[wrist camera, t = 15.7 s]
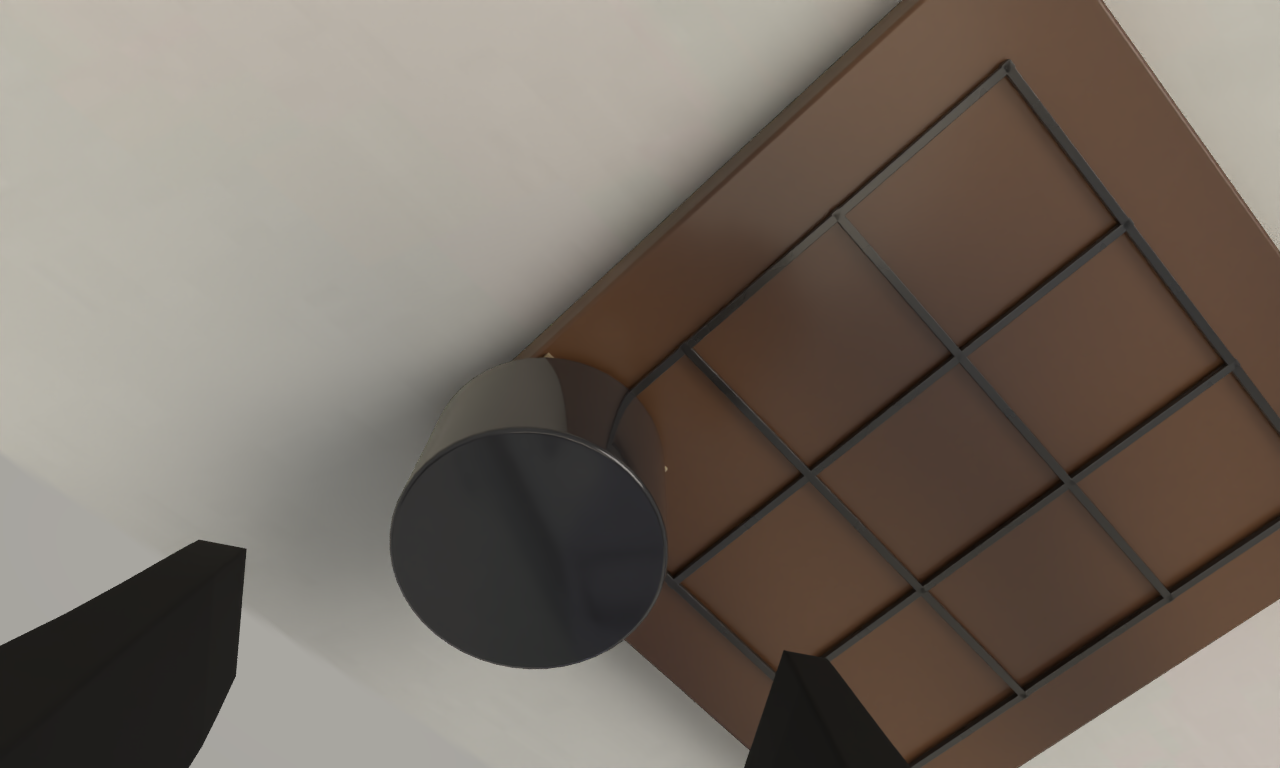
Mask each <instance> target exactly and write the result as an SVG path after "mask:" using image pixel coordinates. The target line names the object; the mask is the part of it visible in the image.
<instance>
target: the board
mask: <svg viewBox="0 0 1280 768" xmlns="http://www.w3.org/2000/svg"><path fill="white" fill-rule="evenodd" d="M541 357H549V358H559V359H566V360H571V361H575V362H580V363H582V364H585V365H588V366H591V367H594V368H596V369H598V370H600V371H602V372H604V373H606V374H608V375H609V376H611V377H612V378H614V379H615V380H617V381H618V382H620V383H621V384H623V385H624V386H625V387H626V388H627V389H628V390H629V391H631V392H632V393H633V394H634V395H635V396H636V397H637V399H638V400H639V401H640V402H641V403H642V404H643V406H644V407H645V409H646V410H647V412H648V413H649V415H650V416H651V418H652V420H653V422H654V424H655V426H656V428H657V430H658V433H659V436H660V439H661V442H662V446H663V452H664V458H665V481H666V503H667V526H668V555H669V559H668V566H667V574H666V577H665V581H664V584H663V588H662V590H661V592H660V595H659V597H658V599H657V601H656V603H655V605H654V606H653V608H652V609H651V611H650V613H649V614H648V616H647V617H646V618H645V619H644V620H643V622H642V623H641V624H640V625H639V626H638V627H637V628H636V630H634V631H633V632H632V633H631V634H630V635H629V636H628V637H627V638H625V639H624V640H625V641H627V642H628V643H629V644H630V645H631V646H632V647H633V648H634V649H636V650H637V651H638V652H639V653H640V654H641V655H642V656H643V657H645V658H646V659H647V660H648V661H649V662H650V663H651V664H653V665H654V666H655V667H656V668H657V669H658V670H659V671H660V672H662V673H663V674H664V675H665V676H666V677H667V678H668V679H670V680H671V681H672V682H673V683H674V684H675V685H676V686H677V687H679V688H680V689H681V690H682V691H683V692H684V693H685V694H686V695H688V696H689V697H690V698H691V699H692V700H693V701H694V702H696V703H697V704H698V705H699V706H700V707H701V708H702V709H703V710H705V711H706V712H707V713H708V714H709V715H710V716H711V717H712V718H714V719H715V720H716V721H717V722H718V723H719V724H720V725H722V726H723V727H724V728H725V729H726V730H727V731H728V732H729V733H731V734H732V735H733V736H734V737H735V738H736V739H737V740H739V741H740V742H741V743H742V744H743V745H744V746H745V747H746V748H748V749H749V750H750V749H751V746H752V743H753V740H754V737H755V734H756V731H757V728H758V725H759V722H760V719H761V716H762V713H763V710H764V707H765V704H766V701H767V698H768V695H769V692H770V689H771V686H772V683H773V680H774V677H775V674H776V671H777V668H778V665H779V662H780V659H781V657H782V654H783V651H784V650H786V651H791V652H796V653H801V654H807V655H812V656H817V657H823V658H827V659H828V660H829V661H830V662H831V664H832V665H833V666H834V667H835V669H836V670H837V671H838V673H839V674H840V675H841V676H842V678H843V679H844V680H845V682H846V683H847V684H848V686H849V687H850V688H851V690H852V691H853V692H854V694H855V695H856V696H857V698H858V699H859V700H860V702H861V703H862V704H863V706H864V707H865V708H866V710H867V711H868V712H869V714H870V715H871V716H872V718H873V719H874V720H875V722H876V723H877V724H878V726H879V727H880V728H881V730H882V731H883V732H884V734H885V735H886V736H887V737H888V739H889V740H890V741H891V743H892V744H893V745H894V746H895V748H896V749H897V750H898V752H899V753H900V754H901V755H902V757H903V758H904V759H905V760H906V762H907V763H908V764H909V765H910V767H911V768H1018V767H1020V766H1022V765H1023V764H1025V763H1026V762H1028V761H1029V760H1031V759H1032V758H1034V757H1035V756H1037V755H1039V754H1040V753H1042V752H1043V751H1045V750H1046V749H1048V748H1049V747H1051V746H1052V745H1054V744H1056V743H1057V742H1059V741H1060V740H1062V739H1063V738H1065V737H1066V736H1068V735H1070V734H1071V733H1073V732H1074V731H1076V730H1077V729H1079V728H1080V727H1082V726H1083V725H1085V724H1087V723H1088V722H1090V721H1091V720H1093V719H1094V718H1096V717H1097V716H1099V715H1101V714H1102V713H1104V712H1105V711H1107V710H1108V709H1110V708H1111V707H1113V706H1114V705H1116V704H1118V703H1119V702H1121V701H1122V700H1124V699H1125V698H1127V697H1128V696H1130V695H1132V694H1133V693H1135V692H1136V691H1138V690H1139V689H1141V688H1142V687H1144V686H1145V685H1147V684H1149V683H1150V682H1152V681H1153V680H1155V679H1156V678H1158V677H1159V676H1161V675H1162V674H1164V673H1166V672H1167V671H1169V670H1170V669H1172V668H1173V667H1175V666H1176V665H1178V664H1180V663H1181V662H1183V661H1184V660H1186V659H1187V658H1189V657H1190V656H1192V655H1193V654H1195V653H1197V652H1198V651H1200V650H1201V649H1203V648H1204V647H1206V646H1207V645H1209V644H1211V643H1212V642H1214V641H1215V640H1217V639H1218V638H1220V637H1221V636H1223V635H1224V634H1226V633H1228V632H1229V631H1231V630H1232V629H1234V628H1235V627H1237V626H1238V625H1240V624H1242V623H1243V622H1245V621H1246V620H1248V619H1249V618H1251V617H1252V616H1254V615H1255V614H1257V613H1259V612H1260V611H1262V610H1263V609H1265V608H1266V607H1268V606H1269V605H1271V604H1273V603H1274V602H1276V601H1277V600H1279V599H1280V251H1279V250H1278V248H1277V247H1276V245H1275V244H1274V243H1273V241H1272V240H1271V238H1270V237H1269V236H1268V234H1267V233H1266V231H1265V230H1264V228H1263V227H1262V226H1261V224H1260V223H1259V221H1258V220H1257V219H1256V217H1255V216H1254V214H1253V213H1252V211H1251V210H1250V209H1249V207H1248V206H1247V204H1246V203H1245V202H1244V200H1243V199H1242V197H1241V196H1240V194H1239V193H1238V192H1237V190H1236V189H1235V187H1234V186H1233V185H1232V183H1231V182H1230V180H1229V179H1228V177H1227V176H1226V175H1225V173H1224V172H1223V170H1222V169H1221V168H1220V166H1219V165H1218V163H1217V162H1216V160H1215V159H1214V158H1213V156H1212V155H1211V153H1210V152H1209V151H1208V149H1207V148H1206V146H1205V145H1204V143H1203V142H1202V141H1201V139H1200V138H1199V136H1198V135H1197V134H1196V132H1195V131H1194V129H1193V128H1192V126H1191V125H1190V124H1189V122H1188V121H1187V119H1186V118H1185V117H1184V115H1183V114H1182V112H1181V111H1180V109H1179V108H1178V107H1177V105H1176V104H1175V102H1174V101H1173V99H1172V98H1171V97H1170V95H1169V94H1168V92H1167V91H1166V90H1165V88H1164V87H1163V85H1162V84H1161V82H1160V81H1159V80H1158V78H1157V77H1156V75H1155V74H1154V73H1153V71H1152V70H1151V68H1150V67H1149V65H1148V64H1147V63H1146V61H1145V60H1144V58H1143V57H1142V56H1141V54H1140V53H1139V51H1138V50H1137V48H1136V47H1135V46H1134V44H1133V43H1132V41H1131V40H1130V39H1129V37H1128V36H1127V34H1126V33H1125V31H1124V30H1123V29H1122V27H1121V26H1120V24H1119V23H1118V22H1117V20H1116V19H1115V17H1114V16H1113V14H1112V13H1111V12H1110V10H1109V9H1108V7H1107V6H1106V5H1105V3H1104V2H1103V0H902V1H901V2H900V3H899V4H898V5H897V6H896V7H895V8H894V9H893V10H891V11H890V12H889V13H888V14H887V15H886V16H885V17H884V18H883V19H882V20H881V21H880V22H878V23H877V24H876V25H875V26H874V27H873V28H872V29H871V30H870V31H869V32H868V33H867V34H865V35H864V36H863V37H862V38H861V39H860V40H859V41H858V42H857V43H856V44H855V45H854V46H852V47H851V48H850V49H849V50H848V51H847V52H846V53H845V54H844V55H843V56H842V57H841V58H839V59H838V60H837V61H836V62H835V63H834V64H833V65H832V66H831V67H830V68H829V69H828V70H826V71H825V72H824V73H823V74H822V75H821V76H820V77H819V78H818V79H817V80H816V81H815V82H813V83H812V84H811V85H810V86H809V87H808V88H807V89H806V90H805V91H804V92H803V93H802V94H800V95H799V96H798V97H797V98H796V99H795V100H794V101H793V102H792V103H791V104H790V105H789V106H787V107H786V108H785V109H784V110H783V111H782V112H781V113H780V114H779V115H778V116H777V117H776V118H774V119H773V120H772V121H771V122H770V123H769V124H768V125H767V126H766V127H765V128H764V129H763V130H761V131H760V132H759V133H758V134H757V135H756V136H755V137H754V138H753V139H752V140H751V141H750V142H748V143H747V144H746V145H745V146H744V147H743V148H742V149H741V150H740V151H739V152H738V153H737V154H735V155H734V156H733V157H732V158H731V159H730V160H729V161H728V162H727V163H726V164H725V165H724V166H722V167H721V168H720V169H719V170H718V171H717V172H716V173H715V174H714V175H713V176H712V177H711V178H709V179H708V180H707V181H706V182H705V183H704V184H703V185H702V186H701V187H700V188H699V189H698V190H696V191H695V192H694V193H693V194H692V195H691V196H690V197H689V198H688V199H687V200H686V201H685V202H683V203H682V204H681V205H680V206H679V207H678V208H677V209H676V210H675V211H674V212H673V213H672V214H670V215H669V216H668V217H667V218H666V219H665V220H664V221H663V222H662V223H661V224H660V225H659V226H657V227H656V228H655V229H654V230H653V231H652V232H651V233H650V234H649V235H648V236H647V237H646V238H644V239H643V240H642V241H641V242H640V243H639V244H638V245H637V246H636V247H635V248H634V249H633V250H632V251H630V252H629V253H628V254H627V255H626V256H625V257H624V258H623V259H622V260H621V261H620V262H619V263H617V264H616V265H615V266H614V267H613V268H612V269H611V270H610V271H609V272H608V273H607V274H606V275H604V276H603V277H602V278H601V279H600V280H599V281H598V282H597V283H596V284H595V285H594V286H593V287H591V288H590V289H589V290H588V291H587V292H586V293H585V294H584V295H583V296H582V297H581V298H580V299H578V300H577V301H576V302H575V303H574V304H573V305H572V306H571V307H570V308H569V309H568V310H567V311H565V312H564V313H563V314H562V315H561V316H560V317H559V318H558V319H557V320H556V321H555V322H554V323H552V324H551V325H550V326H549V327H548V328H547V329H546V330H545V331H544V332H543V333H542V334H541V335H539V336H538V337H537V338H536V339H535V340H534V341H533V342H532V343H531V344H530V345H529V346H528V347H526V348H525V349H524V350H523V351H522V352H521V353H520V354H519V355H518V356H517V357H516V358H515V359H513V360H512V361H515V360H520V359H527V358H541Z"/></svg>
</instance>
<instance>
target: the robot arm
mask: <svg viewBox="0 0 1280 768" xmlns="http://www.w3.org/2000/svg"><path fill="white" fill-rule="evenodd" d="M245 560H246V549H245V548H240V547H235V546H229V545H224V544H219V543H214V542H208V541H203V540H198V541H196V542H194V543H192V544H190V545H188V546H186V547H184V548H183V549H181V550H179V551H177V552H175V553H174V554H172V555H170V556H168V557H166V558H165V559H163V560H161V561H159V562H158V563H156V564H154V565H152V566H151V567H149V568H147V569H146V570H144V571H142V572H140V573H138V574H137V575H135V576H133V577H132V578H130V579H128V580H126V581H124V582H123V583H121V584H119V585H117V586H115V587H113V588H112V589H110V590H108V591H106V592H104V593H102V594H101V595H99V596H97V597H95V598H93V599H92V600H90V601H88V602H86V603H84V604H82V605H81V606H79V607H77V608H75V609H73V610H72V611H69V612H68V613H66V614H64V615H62V616H60V617H58V618H56V619H54V620H52V621H50V622H48V623H46V624H44V625H41V626H39V627H37V628H36V629H34V630H31V631H29V632H27V633H25V634H23V635H21V636H19V637H17V638H15V639H13V640H11V641H9V642H7V643H5V644H3V645H1V646H0V768H189V766H190V765H191V763H192V762H193V760H194V758H195V757H196V755H197V754H198V752H199V750H200V748H201V747H202V745H203V743H204V741H205V739H206V737H207V735H208V733H209V731H210V729H211V727H212V725H213V723H214V721H215V719H216V717H217V715H218V713H219V711H220V709H221V707H222V704H223V702H224V700H225V698H226V696H227V694H228V692H229V689H230V687H231V685H232V683H233V681H234V679H235V677H236V668H237V656H238V644H239V632H240V619H241V608H242V596H243V584H244V572H245ZM744 768H911V767H910V765H909V764H908V763H907V762H906V760H905V759H904V758H903V757H902V755H901V754H900V753H899V752H898V750H897V749H896V748H895V746H894V745H893V744H892V743H891V741H890V740H889V739H888V737H887V736H886V735H885V734H884V732H883V731H882V730H881V728H880V727H879V726H878V724H877V723H876V722H875V720H874V719H873V718H872V716H871V715H870V714H869V712H868V711H867V710H866V708H865V707H864V706H863V704H862V703H861V702H860V700H859V699H858V698H857V696H856V695H855V694H854V692H853V691H852V690H851V688H850V687H849V686H848V684H847V683H846V682H845V680H844V679H843V678H842V676H841V675H840V674H839V673H838V671H837V670H836V669H835V667H834V666H833V665H832V664H831V662H830V661H829V660H828V659H827V658H823V657H817V656H812V655H807V654H801V653H796V652H791V651H786V650H784V651H783V654H782V657H781V659H780V662H779V665H778V668H777V671H776V674H775V677H774V680H773V683H772V686H771V689H770V692H769V695H768V698H767V701H766V704H765V707H764V710H763V713H762V716H761V719H760V722H759V725H758V728H757V731H756V734H755V737H754V740H753V743H752V746H751V749H750V752H749V755H748V758H747V761H746V764H745V767H744Z"/></svg>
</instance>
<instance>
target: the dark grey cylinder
mask: <svg viewBox="0 0 1280 768" xmlns="http://www.w3.org/2000/svg"><path fill="white" fill-rule="evenodd" d="M390 555H391V562H392V567H393V570H394V573H395V577H396V580H397V583H398V585H399V587H400V589H401V591H402V594H403V596H404V597H405V599H406V601H407V602H408V604H409V605H410V607H411V608H412V610H413V611H414V612H415V614H416V615H417V616H418V617H419V618H420V620H421V621H422V622H423V623H424V624H425V625H426V626H427V627H428V628H429V629H430V630H431V631H432V632H434V633H435V634H436V635H437V636H439V637H440V638H441V639H443V640H444V641H445V642H447V643H448V644H450V645H451V646H453V647H455V648H457V649H458V650H460V651H462V652H464V653H466V654H468V655H471V656H473V657H475V658H478V659H480V660H483V661H487V662H490V663H493V664H497V665H502V666H507V667H512V668H523V669H548V668H556V667H564V666H568V665H572V664H576V663H580V662H583V661H585V660H588V659H591V658H593V657H596V656H598V655H600V654H602V653H604V652H606V651H608V650H610V649H611V648H613V647H614V646H616V645H617V644H619V643H620V642H622V641H623V640H624V639H625V638H627V637H628V636H629V635H630V634H631V633H632V632H633V631H634V630H636V628H637V627H638V626H639V625H640V624H641V623H642V622H643V620H644V619H645V618H646V617H647V616H648V614H649V613H650V611H651V609H652V608H653V606H654V605H655V603H656V601H657V599H658V597H659V595H660V592H661V590H662V588H663V584H664V581H665V577H666V574H667V566H668V559H669V555H668V526H667V503H666V481H665V458H664V452H663V446H662V442H661V439H660V436H659V433H658V430H657V428H656V426H655V424H654V422H653V420H652V418H651V416H650V415H649V413H648V412H647V410H646V409H645V407H644V406H643V404H642V403H641V402H640V401H639V400H638V399H637V397H636V396H635V395H634V394H633V393H632V392H631V391H629V390H628V389H627V388H626V387H625V386H624V385H623V384H621V383H620V382H618V381H617V380H615V379H614V378H612V377H611V376H609V375H608V374H606V373H604V372H602V371H600V370H598V369H596V368H594V367H591V366H588V365H585V364H582V363H580V362H575V361H571V360H566V359H559V358H549V357H541V358H527V359H520V360H515V361H511V362H507V363H504V364H501V365H498V366H496V367H494V368H491V369H489V370H487V371H485V372H483V373H482V374H480V375H478V376H476V377H475V378H473V379H472V380H471V381H469V382H468V383H467V384H466V385H464V386H463V387H462V388H461V389H460V390H459V391H458V392H457V393H456V394H455V395H454V396H453V397H452V399H451V400H450V401H449V403H448V404H447V406H446V407H445V409H444V410H443V412H442V414H441V416H440V418H439V420H438V422H437V424H436V426H435V428H434V430H433V432H432V434H431V436H430V438H429V440H428V442H427V444H426V446H425V448H424V450H423V452H422V454H421V455H420V457H419V459H418V461H417V463H416V465H415V467H414V469H413V471H412V473H411V475H410V477H409V479H408V481H407V483H406V485H405V487H404V489H403V491H402V493H401V495H400V497H399V499H398V501H397V504H396V507H395V510H394V513H393V516H392V522H391V528H390Z"/></svg>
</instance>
